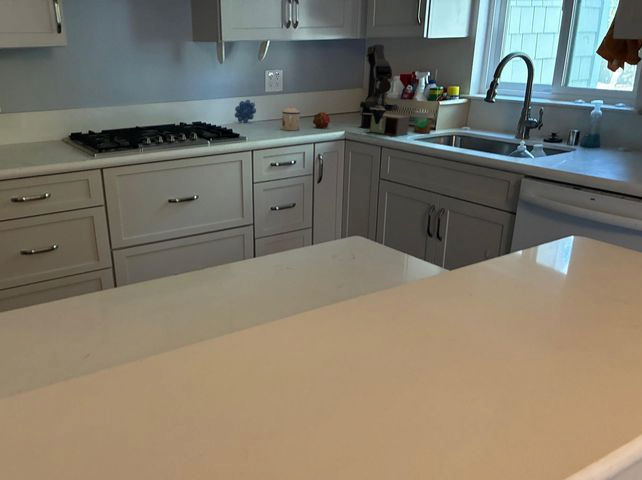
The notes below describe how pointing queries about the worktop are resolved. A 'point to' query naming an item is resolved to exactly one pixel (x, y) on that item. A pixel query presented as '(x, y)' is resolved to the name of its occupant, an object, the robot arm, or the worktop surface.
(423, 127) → the food container
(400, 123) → the cabinet
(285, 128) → the teacup with lid
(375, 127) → the sliding door
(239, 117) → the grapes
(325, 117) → the dragon fruit
